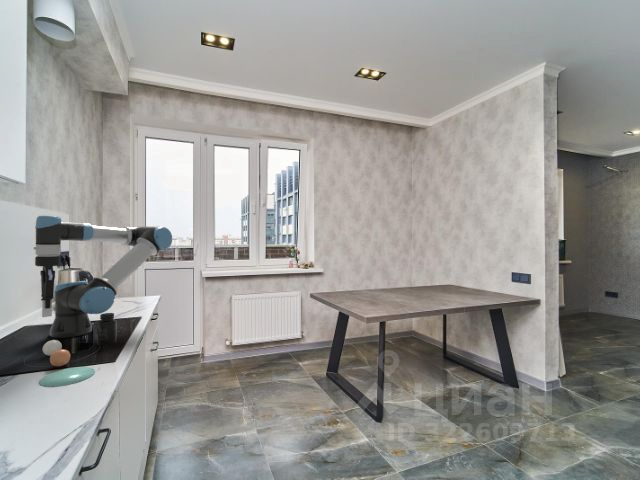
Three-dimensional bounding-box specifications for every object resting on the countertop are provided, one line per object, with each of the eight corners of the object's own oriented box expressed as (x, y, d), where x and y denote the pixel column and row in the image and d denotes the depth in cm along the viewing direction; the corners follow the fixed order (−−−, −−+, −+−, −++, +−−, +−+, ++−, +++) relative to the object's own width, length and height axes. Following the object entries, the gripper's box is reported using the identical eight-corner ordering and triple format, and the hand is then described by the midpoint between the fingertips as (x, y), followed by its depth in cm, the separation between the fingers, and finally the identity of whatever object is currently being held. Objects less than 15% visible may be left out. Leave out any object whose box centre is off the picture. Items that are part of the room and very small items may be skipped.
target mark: (35, 376, 103) (35, 375, 103) (88, 364, 113) (88, 363, 113) (43, 391, 93) (43, 390, 93) (100, 376, 104) (100, 375, 104)
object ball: (48, 365, 111) (48, 349, 111) (68, 361, 115) (68, 345, 115) (51, 370, 107) (51, 353, 107) (72, 365, 111) (72, 349, 111)
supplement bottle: (120, 341, 137) (120, 313, 137) (103, 346, 131) (104, 316, 131) (109, 339, 140) (110, 311, 140) (93, 344, 134) (93, 314, 134)
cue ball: (41, 355, 120) (41, 340, 120) (60, 351, 124) (60, 337, 124) (43, 359, 117) (44, 343, 117) (63, 355, 121) (63, 340, 121)
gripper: (32, 255, 128) (31, 315, 128) (38, 256, 120) (36, 321, 120) (56, 254, 134) (55, 312, 134) (63, 256, 125) (62, 317, 125)
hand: (46, 316), depth 127 cm, fingers closed
